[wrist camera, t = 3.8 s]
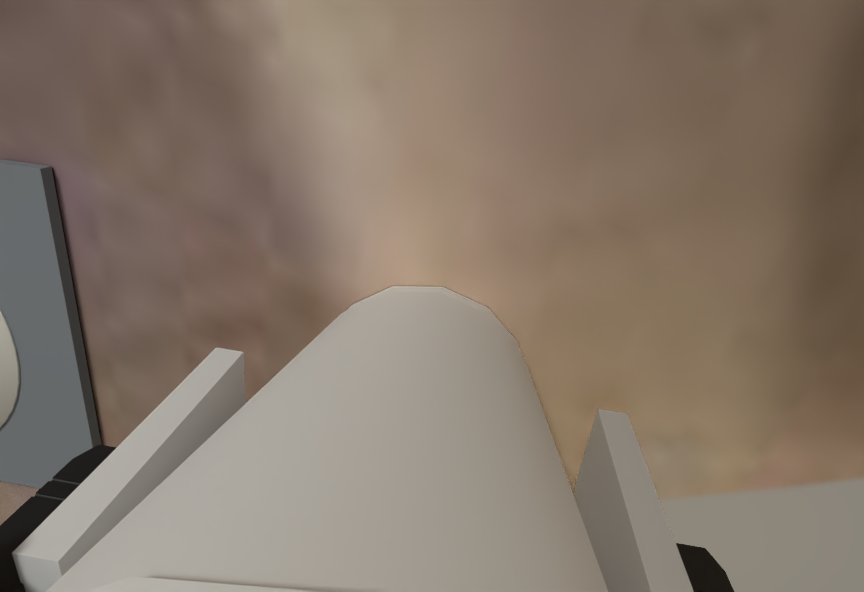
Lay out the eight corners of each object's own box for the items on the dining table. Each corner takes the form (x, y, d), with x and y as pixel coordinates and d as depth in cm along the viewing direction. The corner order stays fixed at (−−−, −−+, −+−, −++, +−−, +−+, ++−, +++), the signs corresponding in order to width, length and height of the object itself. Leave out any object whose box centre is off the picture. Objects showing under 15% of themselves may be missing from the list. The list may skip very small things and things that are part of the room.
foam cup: (448, 540, 19) (363, 1357, 7) (223, 395, 17) (-374, 1114, 5) (649, 362, 15) (1202, 1440, 3) (385, 160, 14) (-337, 776, 2)
